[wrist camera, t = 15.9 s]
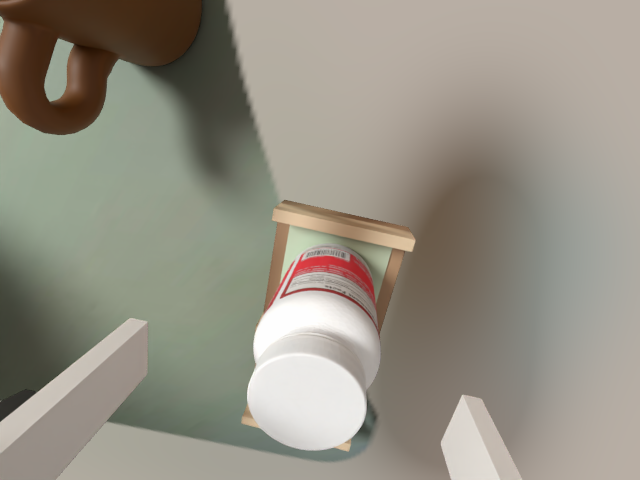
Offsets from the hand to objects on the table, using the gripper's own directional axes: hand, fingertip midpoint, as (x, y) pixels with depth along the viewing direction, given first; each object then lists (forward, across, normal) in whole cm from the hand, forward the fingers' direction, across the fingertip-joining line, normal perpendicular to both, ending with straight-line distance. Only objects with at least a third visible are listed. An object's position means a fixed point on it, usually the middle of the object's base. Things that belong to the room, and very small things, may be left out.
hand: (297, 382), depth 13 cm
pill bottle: (+10, +1, 0) cm, 10 cm away
